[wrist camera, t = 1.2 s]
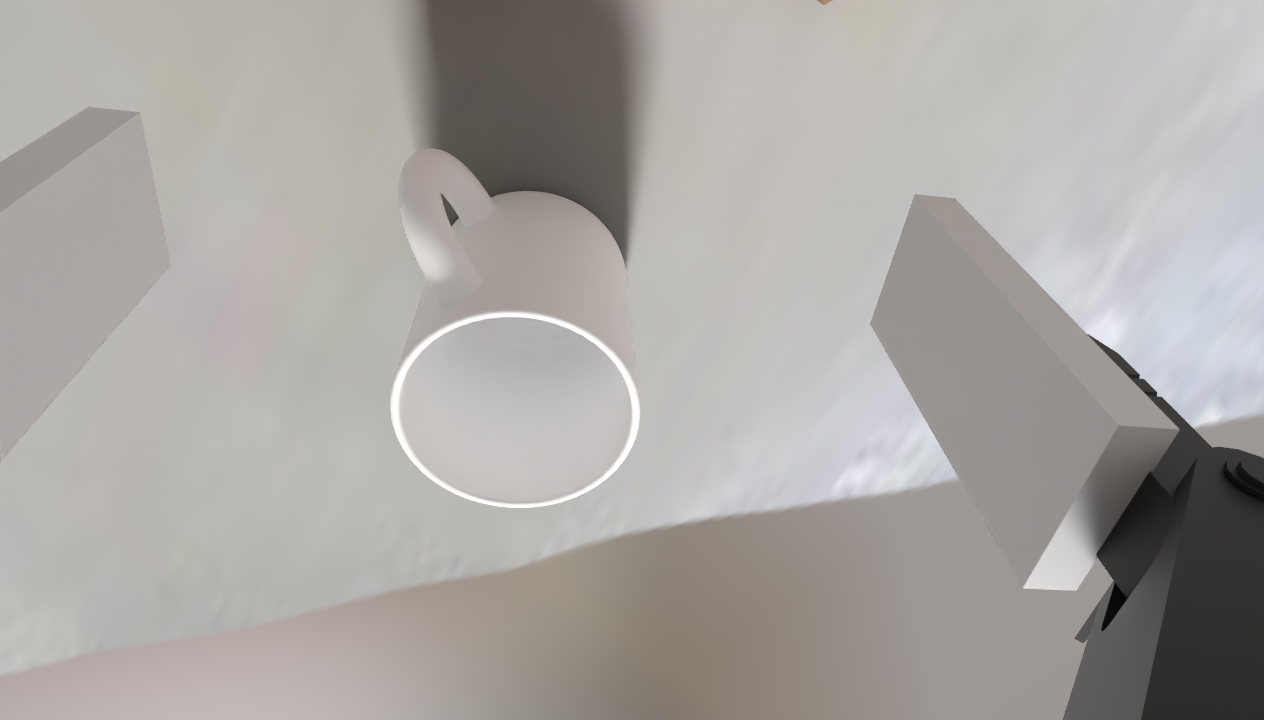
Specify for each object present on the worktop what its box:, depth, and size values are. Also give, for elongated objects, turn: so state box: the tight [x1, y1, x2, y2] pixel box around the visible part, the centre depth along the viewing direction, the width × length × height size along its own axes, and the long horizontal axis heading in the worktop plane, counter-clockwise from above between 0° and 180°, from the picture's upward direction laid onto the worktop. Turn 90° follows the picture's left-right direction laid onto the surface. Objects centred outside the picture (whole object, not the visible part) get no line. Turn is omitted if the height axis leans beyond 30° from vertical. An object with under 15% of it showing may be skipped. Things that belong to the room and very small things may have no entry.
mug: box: [390, 149, 641, 508], centre depth 30 cm, size 12×8×10 cm
